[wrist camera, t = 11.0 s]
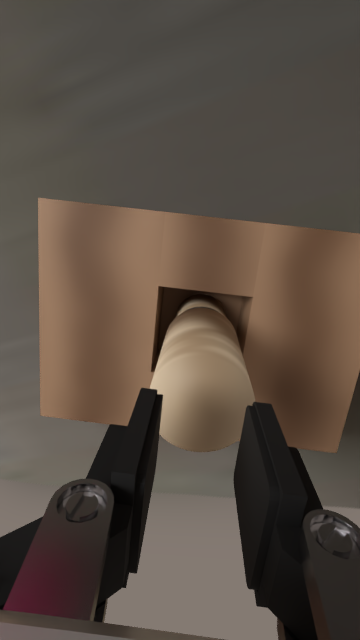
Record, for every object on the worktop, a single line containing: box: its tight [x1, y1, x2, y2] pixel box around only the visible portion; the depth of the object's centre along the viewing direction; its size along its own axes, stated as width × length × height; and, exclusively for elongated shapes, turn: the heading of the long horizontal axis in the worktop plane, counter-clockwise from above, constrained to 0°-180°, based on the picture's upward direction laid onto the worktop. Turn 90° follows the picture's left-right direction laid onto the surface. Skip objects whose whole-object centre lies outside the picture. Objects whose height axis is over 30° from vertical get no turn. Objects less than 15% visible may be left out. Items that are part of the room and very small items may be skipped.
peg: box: [150, 294, 255, 452], centre depth 19 cm, size 4×4×12 cm
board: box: [38, 198, 360, 453], centre depth 23 cm, size 20×14×5 cm
